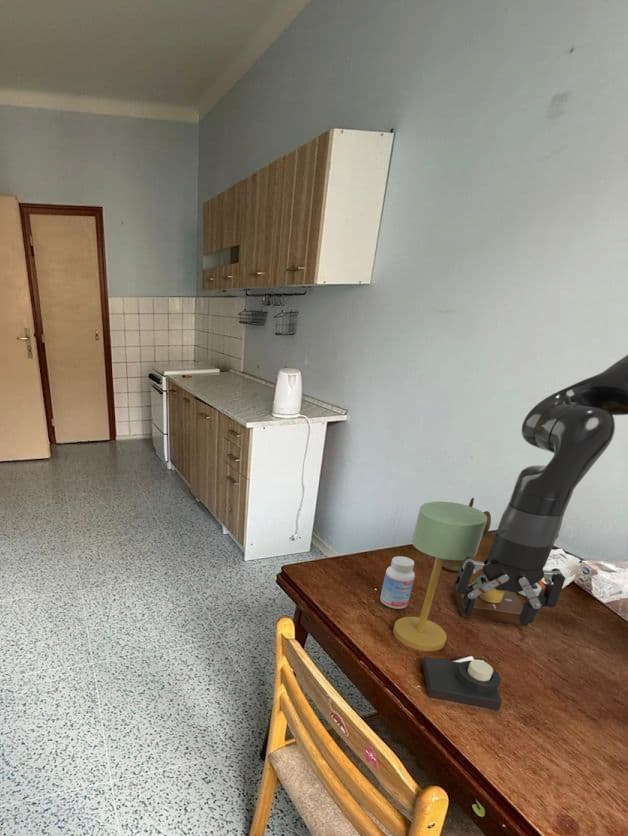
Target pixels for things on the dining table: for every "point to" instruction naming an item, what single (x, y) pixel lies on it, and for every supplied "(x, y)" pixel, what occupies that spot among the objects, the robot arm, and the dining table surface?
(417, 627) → the table lamp
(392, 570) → the pill bottle
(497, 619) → the dimmer
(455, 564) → the kendama
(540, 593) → the electronic device
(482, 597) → the dimmer knob
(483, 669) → the lamp switch
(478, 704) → the switch base
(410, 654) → the dining table surface
